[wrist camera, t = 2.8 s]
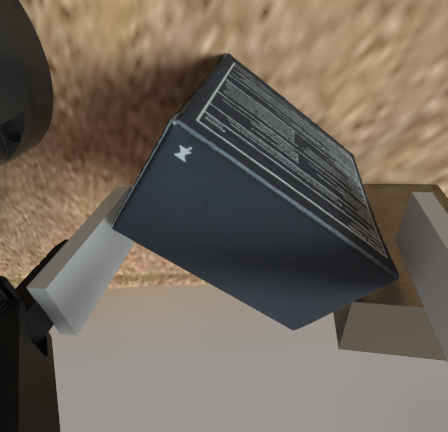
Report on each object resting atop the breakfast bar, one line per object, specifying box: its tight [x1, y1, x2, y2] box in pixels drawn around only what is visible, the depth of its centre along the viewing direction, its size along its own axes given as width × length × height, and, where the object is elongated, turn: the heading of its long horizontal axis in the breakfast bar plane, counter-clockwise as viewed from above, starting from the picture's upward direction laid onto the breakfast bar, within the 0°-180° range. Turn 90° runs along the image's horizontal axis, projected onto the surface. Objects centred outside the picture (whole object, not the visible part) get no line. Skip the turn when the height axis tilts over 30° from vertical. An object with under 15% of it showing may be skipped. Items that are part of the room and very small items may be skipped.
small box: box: [111, 54, 399, 330], centre depth 16 cm, size 11×6×10 cm, turn 56°
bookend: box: [333, 184, 448, 361], centre depth 17 cm, size 7×4×10 cm, turn 95°
